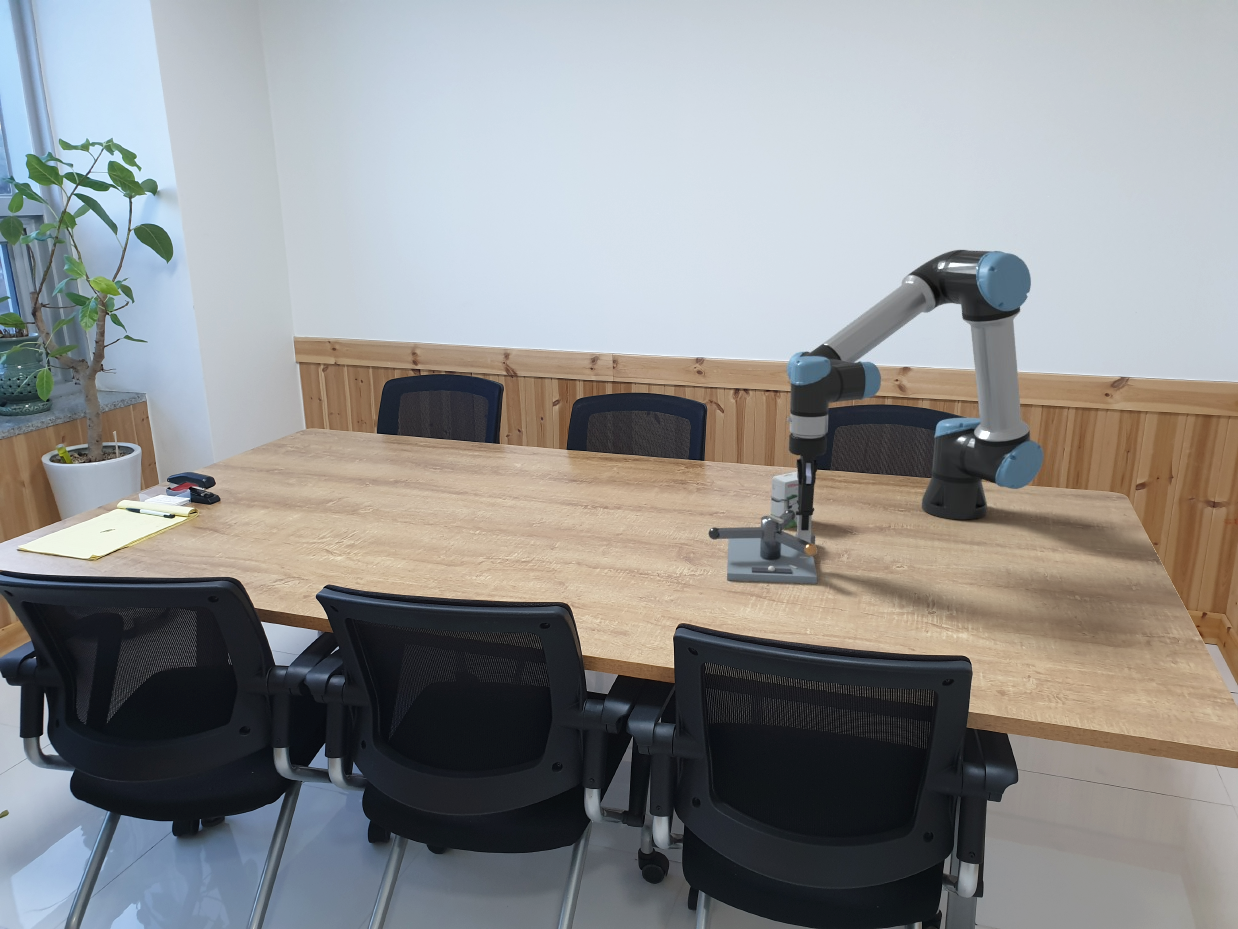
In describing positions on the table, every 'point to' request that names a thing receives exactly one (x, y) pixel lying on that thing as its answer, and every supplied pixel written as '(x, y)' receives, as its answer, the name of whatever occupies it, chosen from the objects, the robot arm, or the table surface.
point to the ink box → (785, 496)
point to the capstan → (768, 536)
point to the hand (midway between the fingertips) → (803, 542)
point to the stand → (768, 563)
